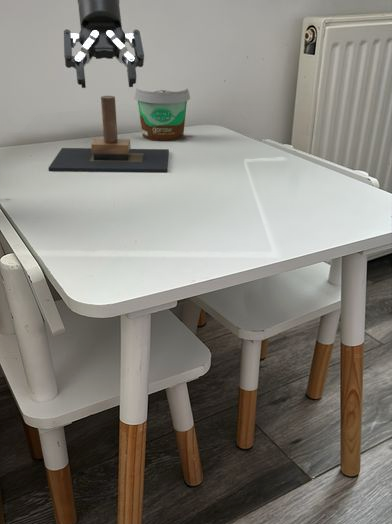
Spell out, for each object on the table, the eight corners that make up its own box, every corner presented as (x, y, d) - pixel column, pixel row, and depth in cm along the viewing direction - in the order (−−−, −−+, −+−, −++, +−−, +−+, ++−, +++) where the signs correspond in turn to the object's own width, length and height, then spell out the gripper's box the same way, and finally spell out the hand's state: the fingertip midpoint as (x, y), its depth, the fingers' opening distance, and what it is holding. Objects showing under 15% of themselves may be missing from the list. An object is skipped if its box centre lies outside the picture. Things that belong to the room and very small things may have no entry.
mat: (48, 171, 103) (48, 167, 103) (62, 150, 115) (61, 147, 115) (167, 172, 104) (167, 168, 104) (168, 152, 116) (168, 149, 115)
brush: (92, 160, 107) (87, 98, 101) (95, 154, 111) (90, 94, 105) (128, 160, 107) (125, 99, 101) (130, 154, 111) (127, 94, 105)
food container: (140, 143, 121) (138, 93, 115) (135, 136, 126) (133, 88, 120) (195, 141, 123) (196, 92, 118) (189, 134, 128) (189, 87, 123)
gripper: (136, 22, 108) (145, 97, 105) (61, 22, 106) (68, 98, 103) (138, -9, 101) (148, 70, 98) (57, -11, 98) (65, 70, 96)
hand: (107, 84), depth 100 cm, fingers open, 8 cm apart
